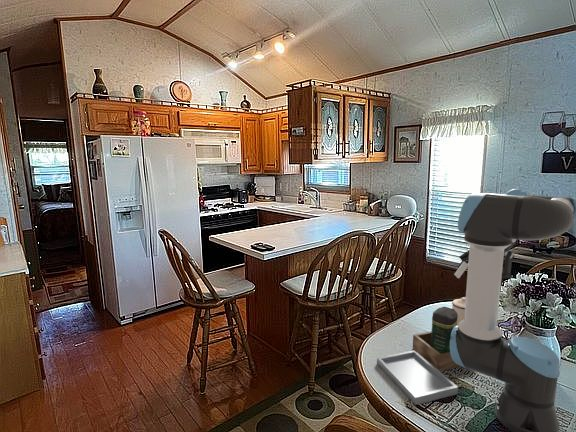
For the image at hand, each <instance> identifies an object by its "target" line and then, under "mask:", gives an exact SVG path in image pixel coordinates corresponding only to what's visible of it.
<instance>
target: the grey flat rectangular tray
mask: <svg viewBox="0 0 576 432" xmlns="http://www.w3.org/2000/svg"><path fill="white" fill-rule="evenodd" d="M376 365H377V366H378V367H379V368H380V369H381V370H382V371H383V372H384V374H385V375H387V376H388V378H389V379H390V380H391V381H392V382H393V383H394V384H395V385H396V386H397V388H398V389H399V390H400V391H401V392H402V393H403V394H404V395H405V396H406V397H407V398H408V400H410V401H411V403H412V404H413V405H414V406H416V405H421V404H423V403H428V402H432V401H436V400H437V401H438V400H440V399H443V398H447V397H452V396H455V395H458V394H459V386H458V385H457V384H455V383H454V382H453V381H452V380H450V378H448V377H447V376H446V375H445V374H443V373H442V371H439V370H438V369H436V368H435V367H434V366H433V365H432V364H430V363H429V362H428V361H427V360H426V359H424V358H423V357H422V356H421V355H420V354H419V353H417V352H416V351H415V350H413V349H412V350H409V351H404V352H399V353H394V354H390V355H385V356H384V355H383V356H379V357H376Z"/></svg>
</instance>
